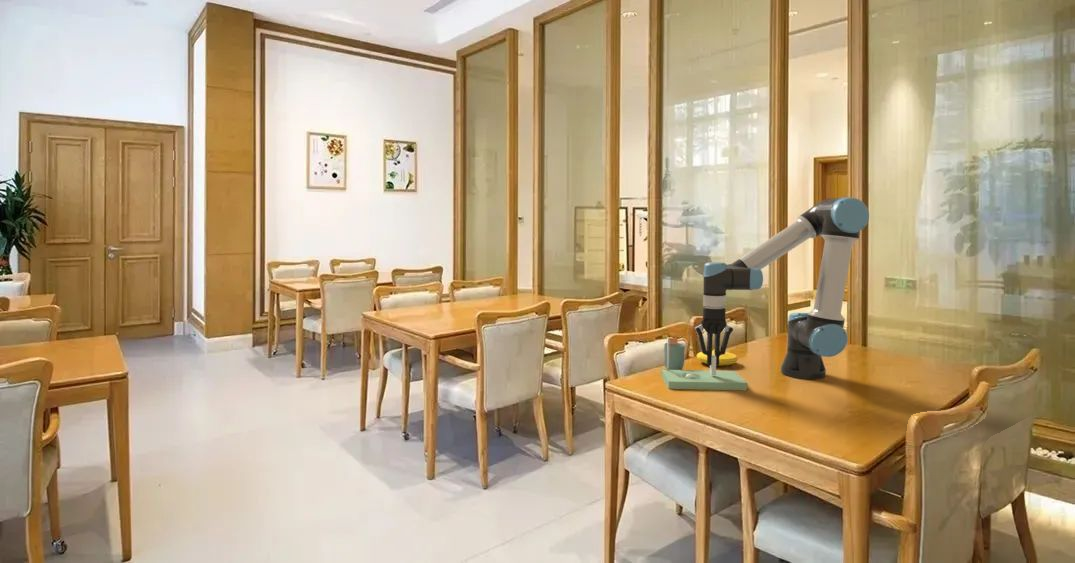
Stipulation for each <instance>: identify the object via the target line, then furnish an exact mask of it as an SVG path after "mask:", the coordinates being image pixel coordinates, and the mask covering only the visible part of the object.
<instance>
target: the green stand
mask: <svg viewBox="0 0 1075 563" xmlns="http://www.w3.org/2000/svg"><path fill="white" fill-rule="evenodd" d="M666 338H667V339H666V341H667V342H666V343H667V369H661V378H662V379H663V382H664V384H665V385H666V387H667V388H668V389H670V390H708V391H709V390H715V391H717V390H719V391H720V390H721V391H722V390H723V391H747V390H748V382H747V381H746V380H745V379H743V377H741V375H739V373H737V372H736V371H734V370H716V375H711V374H710V369H709V370H704V369H701V370H700V369H699V370H696V369H694V370H693V369H682V370H669V345H670V344H677V343H679V342H678V341H679V340H678V337H666ZM687 374H692V375H693V376H694V377H685V376H686V375H687Z"/></svg>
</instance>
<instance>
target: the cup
mask: <svg viewBox="0 0 1075 563" xmlns="http://www.w3.org/2000/svg"><path fill="white" fill-rule="evenodd" d="M685 360H686V344H684V343H681V342H677V344H670V345H669V370H684V367H685ZM663 364H664V367H665V370H667V342H665V343H664V344H663Z"/></svg>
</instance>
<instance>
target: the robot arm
mask: <svg viewBox="0 0 1075 563" xmlns="http://www.w3.org/2000/svg"><path fill="white" fill-rule="evenodd" d="M869 211H870V210H869V208H868V206H867V205H866V204H865V202H863V201H862V200H861V199H858V198H856V197H850V196H843V197H832V198H826V199H824V200H821V201H820V202H818V203H816V204H815V205H813V206H812V207H810V208H809V209H807V210H806V211H804V212H803V213H801V214H799V216H797V220H796V221H794V222H793V223H792V224H790V225H789V226H786V227H785V228H784V229H783V230H781V231H779V232H777V233H776V234H775V235H773V236H772V237H770V238H769V239H767V240H765V241H764V242H763V243H761V244H760V245H758V246H756V247H754V248H753V249H752V250H750V251H749V252H747V253H746V254H745V255H742V256H741V257H740V258H738V259H736V260H735V261H733V262H732V263H728V264H727V263H726V262H723V261H722V262H721V261H719V262H714V261H711V262H710V261H709V262H706V263H704V266H703V274H702V275H703V295H702V296H703V297H702V299H703V300H702V305H703V307H702V320H701V323H700V324H699V325H698V326H695V327H694V330H695V332H696V333H697V336H698V341H699V345H700V349H701V352H702V353H703V354H705V355H707V364H706V365H708V366H709V371H710V374H711V375H716V371H717V366H716V365H719V356H720V355H722V354H723V355H724V354H725V352H727V347H728V343H729V339H730V335H731V333H732V332H733V330H734V328H733V327H732V326H729V325H728V323H727V320H726V311H727V309H726V308H725V307H726V306H727V305H726V303H727V300H726V299H727V291H736V290H737V291H738V290H739V291H757V290H760V289H761V288H762V286H763V282H764V276H763V274H764V273H763V271H762V269H764V268H766V267H767V266H768V265H770V264H771V263H773V262H775V261H776V260H777V259H780V258H781V257H783V256H784V255H786V254H787V253H789V252H790V251H792V250H793V249H795V248H797V247H798V246H800V245H801V244H803V243H804V242H806V241H807V240H809V239H816V238H817V237H819V236H821V238H822V239H823V240H824V245H823V251H822V257H821V263H820V268H819V274H818V281H817V287H816V292H815V298H814V305H813V308H812V310H810V311H809V312H791V313H790V314H789V316H788V320H787V344H786V346H787V348H786V354H785V357H783V361H782V364H781V368H780V373H781V374H783V375H784V376H787V377H791V378H796V379H797V378H798V379H806V380H818V379H819V380H820V379H824V378H826V373H827V372H826V371H827V369H826V367H825V363H824V360H823V357H826V358H831V357H836V356H838V355H839V354H841V353H842V352H843V351H844V350H845V348H846V347H847V345H848V341H849V340H848V337H849V336H848V334H847V332H846V330H845V328H844V326H845V317H844V316H843V315H842V308H843V302H844V296H845V290H846V285H847V278H848V274H849V269H850V268H849V267H850V262H851V256H852V252H853V251H852V250H853V245H854V243H855V242H857V241H859V240H860V234H861V231H862V230H864V228H866V226H867V225H868V223H869V221H870V220H869V219H870V212H869ZM703 329H704V331H705V332H706V336H707V337H706V338H707V339H706V343H705V339H704V333H703ZM723 330H724V331H725V332H724V333H723V334H724V335H723V339H722V341H721V333H722V332H723ZM713 337H714V348H715V350H714V349H713ZM712 350H714V353H715V355H712Z"/></svg>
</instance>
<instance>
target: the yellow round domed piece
mask: <svg viewBox="0 0 1075 563" xmlns="http://www.w3.org/2000/svg"><path fill="white" fill-rule="evenodd" d="M714 350H715V347H714V349H712V355H715V353H714ZM696 358H697V360H698V361H700V362H702V363H703V364H705V365H708V364H707V355H705V354H703V353H702V351H700V352H698V353H696ZM738 360H739V358H738V356H737V355H736V354H734V353H731V352H728V351H725V354H724V355H723V354H722V355H720V356H719V365H716V367H725V366H730V365H734V364H735V363H737V362H738Z"/></svg>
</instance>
